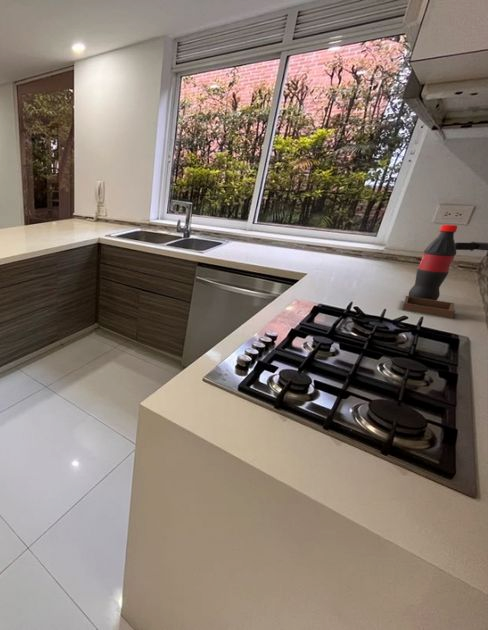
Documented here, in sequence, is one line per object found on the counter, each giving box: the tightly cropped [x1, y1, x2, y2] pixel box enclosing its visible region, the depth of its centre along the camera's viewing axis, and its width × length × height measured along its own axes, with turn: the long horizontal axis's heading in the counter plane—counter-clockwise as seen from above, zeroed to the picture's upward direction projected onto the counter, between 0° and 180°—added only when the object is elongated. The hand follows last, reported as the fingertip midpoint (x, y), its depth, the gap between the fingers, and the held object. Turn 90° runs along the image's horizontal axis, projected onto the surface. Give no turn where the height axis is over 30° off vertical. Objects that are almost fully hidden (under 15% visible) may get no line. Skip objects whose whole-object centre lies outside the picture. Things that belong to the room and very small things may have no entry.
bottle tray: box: [401, 295, 456, 319], centre depth 123 cm, size 13×13×4 cm
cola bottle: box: [407, 224, 458, 301], centre depth 130 cm, size 8×8×30 cm
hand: (471, 249), depth 126 cm, fingers open, 13 cm apart
